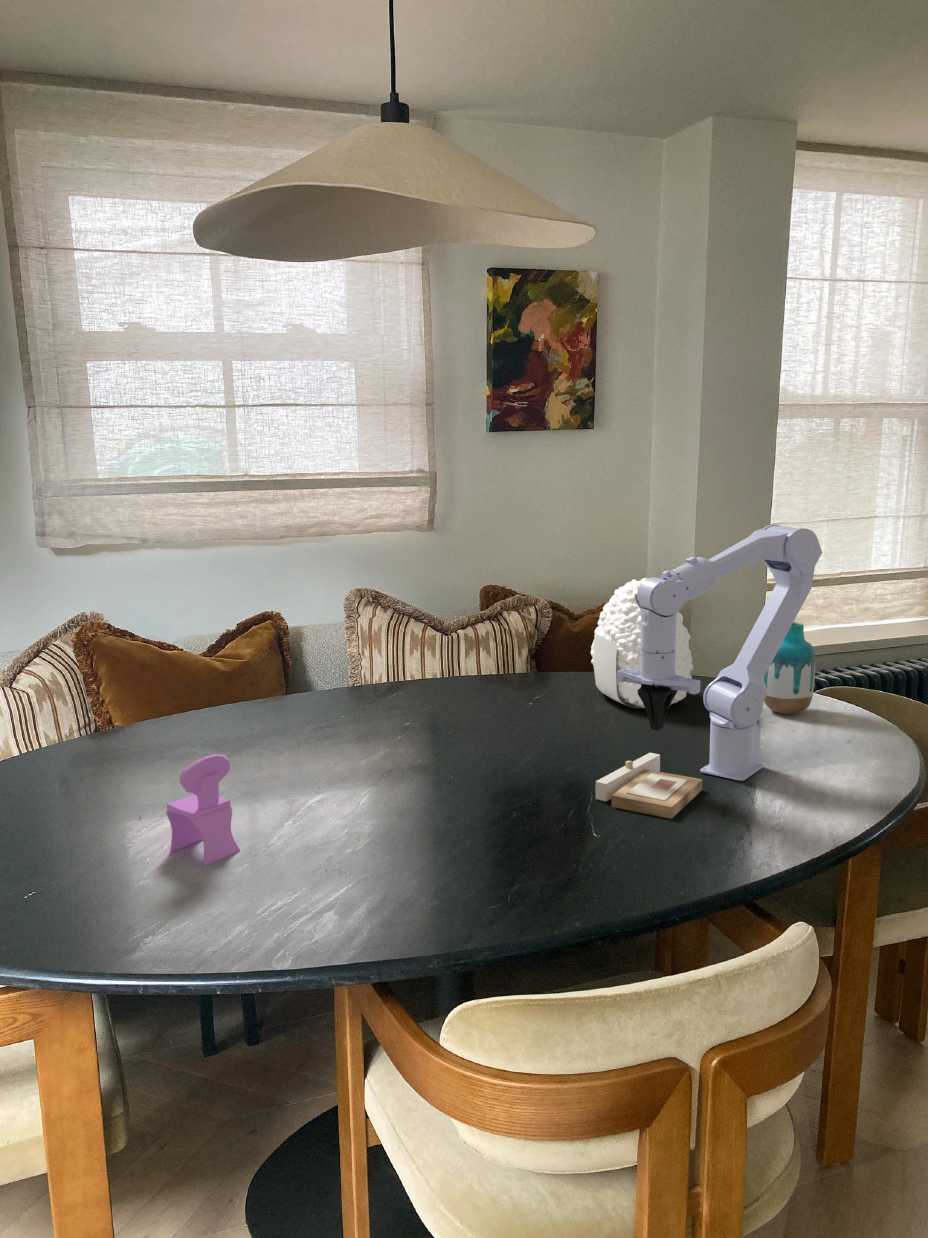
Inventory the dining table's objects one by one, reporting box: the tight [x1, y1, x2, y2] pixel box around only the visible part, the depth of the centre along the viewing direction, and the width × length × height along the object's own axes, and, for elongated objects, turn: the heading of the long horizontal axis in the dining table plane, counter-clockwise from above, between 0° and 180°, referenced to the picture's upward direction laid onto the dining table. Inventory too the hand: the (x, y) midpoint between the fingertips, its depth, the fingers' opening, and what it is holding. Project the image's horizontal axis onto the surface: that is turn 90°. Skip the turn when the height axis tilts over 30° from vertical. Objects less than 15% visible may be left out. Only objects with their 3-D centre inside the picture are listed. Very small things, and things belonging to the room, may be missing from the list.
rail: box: [595, 752, 661, 802], centre depth 160 cm, size 18×2×4 cm, turn 140°
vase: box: [763, 621, 816, 715], centre depth 198 cm, size 11×11×19 cm
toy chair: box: [165, 753, 241, 867], centre depth 137 cm, size 8×9×15 cm
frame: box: [611, 769, 703, 819], centre depth 154 cm, size 14×10×3 cm
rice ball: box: [589, 577, 694, 709], centre depth 210 cm, size 28×19×28 cm
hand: (657, 728), depth 160 cm, fingers closed
